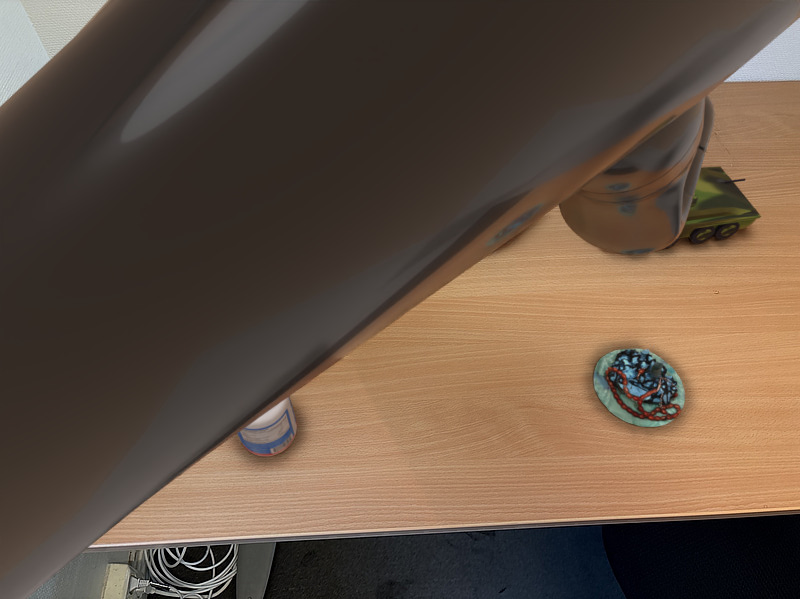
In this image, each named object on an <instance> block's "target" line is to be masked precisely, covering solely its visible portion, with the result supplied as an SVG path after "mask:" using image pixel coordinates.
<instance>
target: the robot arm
mask: <svg viewBox="0 0 800 599" xmlns="http://www.w3.org/2000/svg"><path fill="white" fill-rule="evenodd" d="M798 20H800V0H107V1H106V2H105V3H104V4H103V5H102V6H101V7H100V8H99V9H98V11H97V12H96V13H95V14H94V15H93V16H92V17H91V18H90V19H89V20H88V21H87V23H85V25H84V26H83V27H82V28H81V29H80V30H79V32H77V33H76V34H75V35H74V37H73V38H72V39H70V41H69V42H67V43H66V44H65V45H64V46H63V47H62V48H61V49H60V50H59V51H58V52H56V54H55V55H54V56H52V58H50V59H49V60H48V61H47V62H46V63H45V64H44V65H42V67H41V68H40V69H38V70H37V71H36V72H35V73H34V74H33V75H32V76H31V77H30V78H29V79H28V80H27V81H26V82H25V83H24V84H23V85H21V86H20V87H19V88H18V89H17V90H16V91H15V92H14V93H13V94H11V96H9V98H7V100H5V101H4V102H3V103H2V104H1V105H0V599H28V598H30V597H31V596H32V595H33V594H34V593H36V592H37V591H38V590H39V589H40V588H41V587H42V586H44V585H45V584H46V583H47V582H48V581H50V580H51V579H52V578H53V577H54V576H56V575H57V574H58V573H59V572H60V571H61V570H62V569H64V568H65V567H67V565H69V564H70V563H71V562H72V561H73V560H75V559H76V558H77V557H79V556H80V555H81V554H82V553H83V552H85V551H86V550H87V549H89V547H91V546H92V545H93V544H95V543H96V542H97V541H98V540H100V538H102V537H103V536H104V535H105V534H107V533H108V532H110V530H112V529H113V528H114V527H116V526H117V525H119V523H120V522H122V521H123V520H125V518H126V517H128V516H129V515H130V514H132V513H133V512H134V511H135V510H137V509H138V508H139V507H140V506H142V505H143V504H144V503H146V502H147V501H148V500H150V499H151V498H152V497H153V496H155V495H156V494H158V493H159V492H160V491H161V490H162V489H164V488H166V487H167V486H169V485H170V484H171V483H172V482H173V481H174V480H176V479H177V478H178V477H180V476H181V475H183V474H184V473H185V472H186V471H188V470H189V469H190V468H192V467H193V466H195V465H196V464H197V463H199V462H200V461H201V460H202V459H204V458H205V457H206V456H208V455H209V454H211V453H212V452H213V451H215V450H217V448H219V447H221V446H222V445H224V444H225V443H226V442H228V441H229V440H230V439H232V438H233V437H234V436H236V435H238V434H237V433H239V432H240V431H241V430H243V429H244V428H246V427H247V426H248V425H250V424H251V423H253V422H254V421H255V420H257V419H258V418H260V417H261V416H262V415H264V414H265V413H267V412H268V411H269V410H271V409H272V408H273V407H275V406H276V405H278V404H279V403H281V402H282V401H283V400H285V399H286V398H288V397H290V396H292V395H293V394H295V393H296V392H297V391H299V390H301V389H302V388H303V387H305V386H306V385H307V384H309V383H311V381H313V380H315V378H317V377H318V376H320V375H321V374H323V373H324V372H326V371H327V370H328V369H330V368H331V367H333V366H334V365H335V364H337V363H338V362H340V361H341V360H343V359H344V358H345V357H347V356H349V355H350V354H351V353H352V352H354V351H355V350H356V349H358V348H360V347H361V346H362V345H363V344H365V343H366V342H368V341H369V340H370V339H372V338H373V337H375V336H376V335H378V334H379V333H381V332H382V331H383V330H385V329H386V328H387V327H389V326H391V324H393V323H394V322H396V321H397V320H399V319H400V318H402V317H403V316H404V315H406V314H407V313H409V312H410V311H411V310H413V309H414V308H416V307H417V306H418V305H420V304H422V303H423V302H424V301H426V300H427V299H429V298H430V297H431V296H433V295H434V294H435V293H437V292H438V291H439V290H441V289H443V288H444V287H445V286H447V285H448V284H449V283H451V282H452V281H454V280H455V279H457V278H459V276H461V275H462V274H463V273H465V272H466V271H468V270H469V269H471V268H472V267H473V266H475V265H476V264H478V263H479V262H480V261H482V260H483V259H484V258H486V257H487V256H489V255H491V254H492V253H494V252H495V251H496V250H497V249H499V248H500V247H502V246H503V245H505V244H506V243H507V242H508V241H510V240H511V239H513V238H514V237H516V236H517V235H519V234H520V233H521V232H523V231H524V230H526V229H527V228H529V227H530V226H531V225H532V224H533V225H534V223H535V222H537V221H538V220H540V219H541V218H543V217H544V216H545V215H547V214H548V213H550V212H551V211H552V210H554V209H555V208H556V207H558V209H559V211H560V214H561V217H562V219H563V221H564V222H565V223H566V226H568V228H569V229H570V230H571V231H572V232H573V233H574V234H575V235H576V236H578V237H579V238H581V240H583V241H584V242H586V243H588V244H590V245H591V246H593V247H596V248H597V249H599V250H602V251H606V252H609V253H613V254H617V255H618V254H619V255H624V256H625V255H626V256H642V255H649V254H652V253H655V252H659V251H661V250H665V249H667V248H666V247H667V246H669V245H671V244H672V243H673V242H674V241H675V240H676V239H677V238H678V237H679V235H680V234H681V232H682V230H683V228H684V226H685V223H686V220H687V217H688V214H689V210H690V207H691V203H692V198H693V196H694V193H695V189H696V185H697V182H698V178H699V174H700V171H701V167H703V163H704V160H705V156H706V152H707V151H708V147H709V143H710V140H711V136H712V132H713V128H714V124H715V116H716V111H715V105H714V103H713V101H712V99H711V97H710V96H709V94H711V93H712V92H713V91H714V90H715V89H717V88H718V87H720V85H721V84H723V83H724V82H725V81H726V80H728V79H729V78H730V77H732V76H733V75H734V74H735V73H736V72H738V71H739V70H740V69H741V68H743V66H745V65H746V64H747V63H748V62H750V61H751V60H752V59H753V58H755V57H756V56H757V55H759V53H761V51H763V50H764V49H765V48H766V47H768V46H769V45H770V44H771V43H772V42H773V41H774V40H776V39H777V38H778V37H780V36H781V35H782V34H783V33H784V32H785V31H786V30H788V29H789V28H790V27H791V26H792V25H793V24H795V23H796V22H797V21H798ZM664 248H665V249H664Z"/></svg>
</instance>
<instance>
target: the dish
mask: <svg viewBox="0 0 800 599" xmlns="http://www.w3.org/2000/svg"><path fill="white" fill-rule="evenodd" d="M593 388H594V391H595V393H596V395H597V397H598V399H599V400H600V402H601V403H602V404H603V405H604V406H605V407H606V408H607V410H608V411H609V412H610V413H611V414H612V415H614V416H615V417H617V418H618V419H620V420H621V421H623V422H625V423H628V424H632V425H635V426H637V427H642V428H652V427H653V428H654V427H662V426H665V425H667V424H670V423H671V422H673V421H675V419H677V417H678V416H679V415H680V414H681V413H682V410H683V408H684V405H685V402H686V392H685V387H684V384H683V381H682V379H681V378H680V376H679V374H678V373H677V371H676V370H675V369H674V368H673V367H672V365H670V364H669V363H668V362H666V361H665V360H664V359H662V358H661V357H660V356H659V355H657V354H655V353H654V352H651V351H650V349H648V348H646V349H643V348H640V347H639V348H636V347H635V348H621V349H616V350H613V351H610V352H608V353H606V354H605V355H603V356H602V357H601V358H599V360H598V361H597V363H596V365H595V368H594V372H593Z"/></svg>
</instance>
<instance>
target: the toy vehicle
mask: <svg viewBox="0 0 800 599" xmlns="http://www.w3.org/2000/svg"><path fill="white" fill-rule="evenodd" d="M745 181H746V178H739V179H732V178H731V177H730V175H728V174H727V173H726V172H725V171H724V169H723V167H722V166H704V167H703V166H702V167H701V171H700V174H699V178H698V182H697V185H696V189H695V193H694V196H693V198H692V203H691V207H690V210H689V214H688V217H687V220H686V223H685V226H684V228H683V230H682V232H681V234H680V235H679V237H678V238H677V239H676V240H675V241H674V242H673V243H672V244H671V245H669V246H667V247H666V248H664V249H663V250H665V249H668V248H670V247H672V246H674V245H676V244H677V242H679V241H680V239H682V238H683V239H684V238H689V240H690V241H691V242H692V243H693V244H696V245H697V244H701V243H704V242H706V241H708V240H709V239H711V238H712V237H715V238H716V239H717V240H725V239H728V238H730V237H732V236H733V235H735V234H736V233H737V232H738V231H739V230H741V229H747V228H748V227H750V226H751V225H752V224H753V223H754V222H756V221H757V220H758V219H760V218H761V217H762V215H761V214H760V212H759V211H758V210H757V209H756V207H754V205H753V204H752V202H751V201H749V199H748V198H747V197H746V195H745V194H744V193H743V192H742V190H741V189H740V188H739V186H738V185H737V184H736V183H738V182H739V183H740V182H745Z"/></svg>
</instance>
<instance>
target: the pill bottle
mask: <svg viewBox="0 0 800 599" xmlns="http://www.w3.org/2000/svg"><path fill="white" fill-rule="evenodd" d="M297 430H298V423H297V418H296V414H295V411H294V408H293V404H292V400H291V397H290V396H289V397H288V398H286V399H285V400H283V401H282V402H281V403H279V404H278V405H276V406H275V407H273V408H272V409H271V410H269V411H268V412H267V413H265V414H264V415H262V416H261V417H260V418H258V419H257V420H255V421H254V422H253V423H251V424H250V425H248V426H247V427H246V428H244V429H243V430H241V431H240V432H239V433H237V434H236V435H237V436H238V438H239V440H240V442H241V444H242V446H243V447H244V448H245V449H246V450H247V451H248V452H249V453H251V454H253V455H256V456H258V457H272V456H276V455H279V454H281V453H282V452H284V451H285V450H287V449H288V448H289V447H290V446H291V444H292V443H293V441H294V439H295V438H296V435H297Z"/></svg>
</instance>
